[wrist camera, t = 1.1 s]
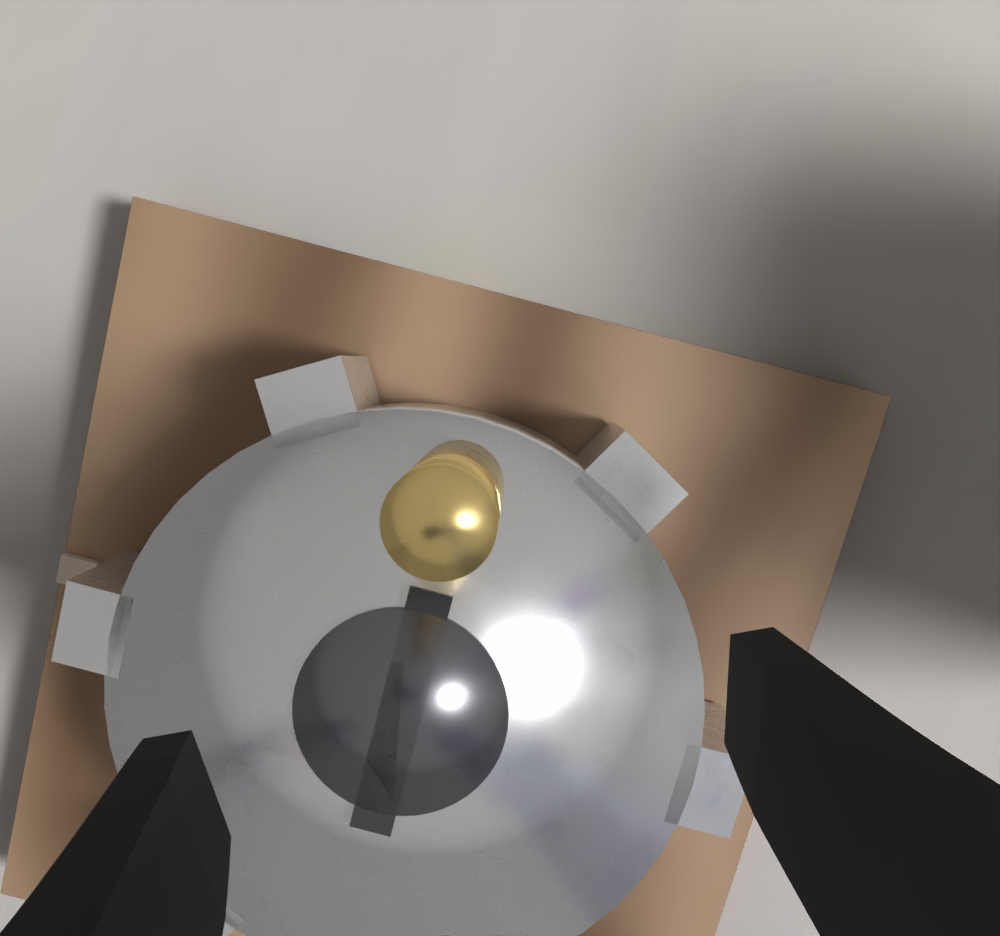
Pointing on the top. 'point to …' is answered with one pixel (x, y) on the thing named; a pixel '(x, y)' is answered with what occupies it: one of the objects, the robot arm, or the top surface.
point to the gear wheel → (416, 667)
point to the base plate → (465, 383)
